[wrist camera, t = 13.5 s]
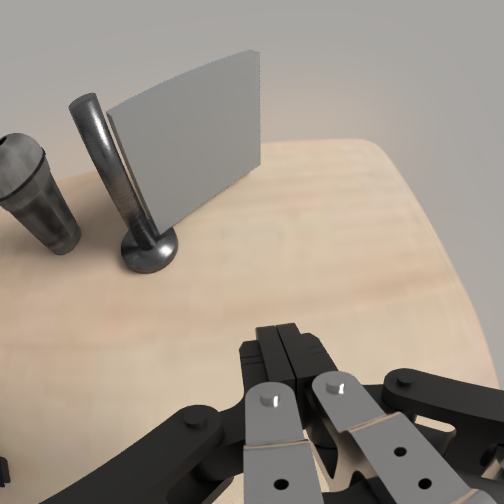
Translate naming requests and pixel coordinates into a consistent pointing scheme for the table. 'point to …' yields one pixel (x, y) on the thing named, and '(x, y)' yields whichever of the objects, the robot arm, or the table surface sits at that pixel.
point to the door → (191, 136)
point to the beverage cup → (35, 194)
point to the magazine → (4, 472)
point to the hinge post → (122, 191)
